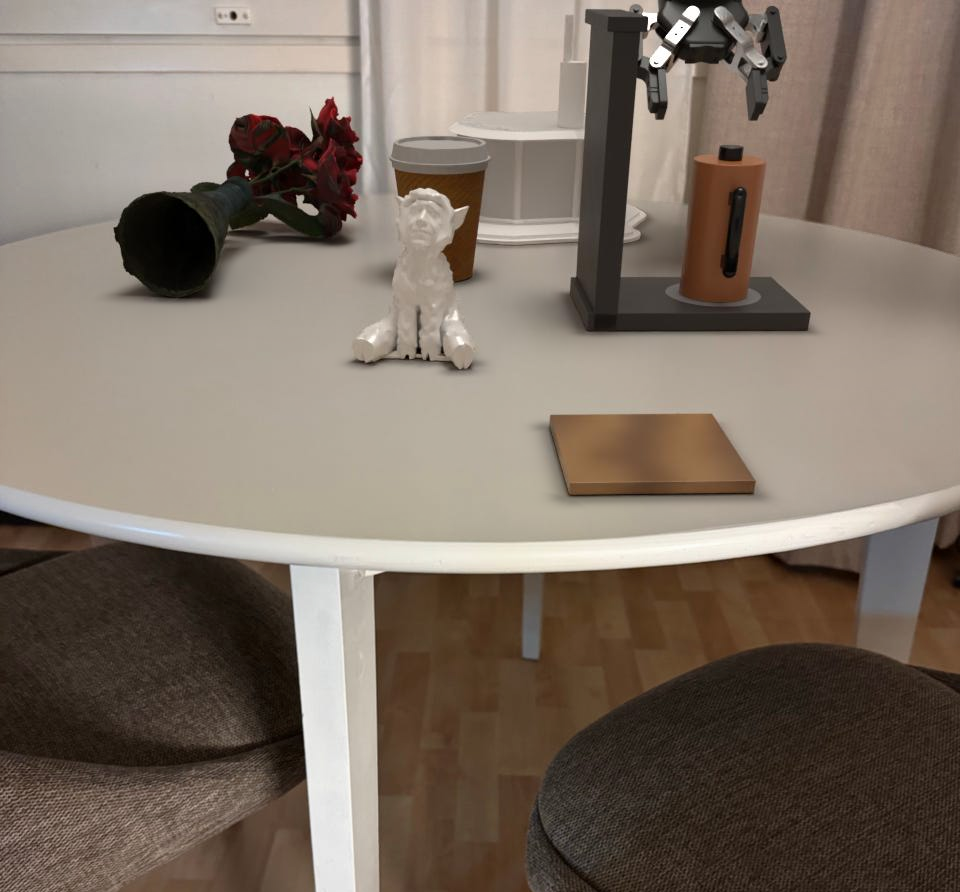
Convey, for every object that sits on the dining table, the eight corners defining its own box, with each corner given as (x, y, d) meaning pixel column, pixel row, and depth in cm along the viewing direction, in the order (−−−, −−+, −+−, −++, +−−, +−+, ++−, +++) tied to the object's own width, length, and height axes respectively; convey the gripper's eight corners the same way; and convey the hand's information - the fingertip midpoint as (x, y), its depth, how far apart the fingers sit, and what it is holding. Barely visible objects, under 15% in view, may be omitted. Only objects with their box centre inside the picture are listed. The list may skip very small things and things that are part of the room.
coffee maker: (768, 292, 101) (811, 11, 88) (808, 330, 90) (864, 18, 78) (569, 292, 100) (585, 8, 88) (587, 331, 90) (608, 15, 77)
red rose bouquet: (201, 378, 101) (297, 267, 129) (334, 255, 93) (407, 165, 121) (70, 246, 95) (201, 160, 123) (200, 101, 87) (309, 44, 115)
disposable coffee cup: (503, 269, 107) (507, 139, 101) (463, 291, 100) (463, 152, 93) (420, 259, 110) (418, 132, 104) (374, 279, 103) (369, 144, 97)
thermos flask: (737, 284, 97) (757, 141, 91) (761, 308, 91) (784, 155, 84) (672, 284, 97) (688, 141, 90) (691, 308, 90) (709, 155, 84)
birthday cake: (365, 215, 129) (356, 9, 117) (533, 188, 145) (539, 5, 133) (540, 261, 110) (550, 22, 98) (710, 224, 126) (735, 15, 115)
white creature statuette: (350, 363, 82) (341, 197, 75) (375, 331, 89) (369, 176, 82) (472, 370, 81) (473, 202, 74) (487, 337, 88) (489, 181, 81)
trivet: (710, 424, 72) (712, 413, 72) (754, 493, 63) (756, 480, 62) (549, 425, 71) (549, 414, 71) (569, 495, 62) (569, 482, 62)
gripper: (627, -75, 94) (638, 83, 91) (785, -72, 95) (801, 84, 92) (613, -6, 102) (622, 142, 98) (760, -5, 102) (774, 143, 99)
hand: (709, 114), depth 95 cm, fingers open, 8 cm apart
